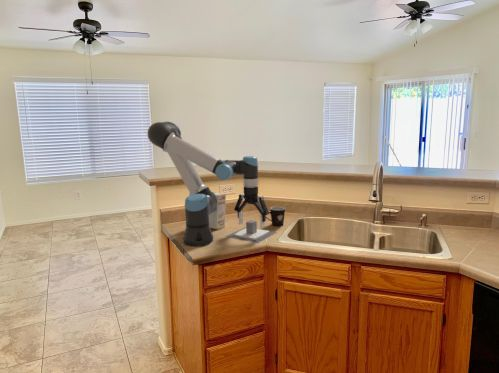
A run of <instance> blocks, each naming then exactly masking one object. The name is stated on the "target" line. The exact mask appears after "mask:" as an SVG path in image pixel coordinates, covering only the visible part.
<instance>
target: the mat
mask: <svg viewBox="0 0 499 373" xmlns="http://www.w3.org/2000/svg"><path fill="white" fill-rule="evenodd" d="M245 228H246V226H245V227H242V228H241V229H239V230H237V231H234V232H232V233H230V234H228V235H225V238H230V239H235V240H241V241H245V242H249V243H256V244H259V243H261V242H262V241H265V240H267V238H270V237H271V236H273V235H275V234H277V233H278V232H277V231H272V230H269V231H270V233H268V234H267V235H265V236H263V237H261V238H259V239H257V240H251V239H246V238H241V237H236V236H233V234H234V233H237V232H239V231H241V230H243V229H245ZM260 229H261V230H263V228H260ZM265 230H266V231H268V230H267V229H265Z"/></svg>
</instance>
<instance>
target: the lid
mask: <svg viewBox="0 0 499 373" xmlns="http://www.w3.org/2000/svg"><path fill="white" fill-rule="evenodd" d="M257 226H258V223H257V221H256V220H252V219H251V220H248V221H246V222H245V227H246V228H245V227H244V228H245V229H243V228H242V229H243V230H241V229H240V230H241V231H239V232H237V233H234V232H233V233H234V234H233V236H236V237H241V238H246V239H251V240H257V239H259V238H261V237H263V236H265V235H267V234H268V233H270V231H271V230H267V229H262V228H258V227H257ZM261 229H262V230H261ZM266 230H267V231H266Z"/></svg>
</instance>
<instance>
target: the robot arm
mask: <svg viewBox="0 0 499 373" xmlns="http://www.w3.org/2000/svg"><path fill="white" fill-rule="evenodd" d="M147 138H148V140H149V142H150V143H151V144H152V145H154V146H156V147H158V148H159V149H162V151H163V152H165V153H167V155H168V156H169V157H170V159H171V162H172V163H173V165H174V166H175V169H176V170H177V172H178V174H179V176H180V178H181V179H182V181H183V183H184V185H185V186H186V188H187V190H188V192H189V193H188V196H186V198H185V199H184V211H185V212H184V213H185V230H184V233H183V234H184V235H183V236H182V237H183V238H182V240H183V241H182V242H183V244H184V245H186V246H190V247H202V246H207V245H210V244H212V243H213V242H214V234H213V233H212V230H211V229H212V228H210V226H209V214H210V213H212V212H213V211H214V210H215V209H216V207H217V205H218V199H217V196H216V195H215V193H216V192H215V193H213V192H214V191H211V189H210V186H208V185H206V184H204V182H203V180H202V179H201V177H200V175H199V172H197V169H196V167H195V166H194V164H195V165H196V166H199V167H201V168H203V170H204V169H205V170H207V172H210V173H212V174H214V175H215V176H216V178H217V179H219V180H221V181H225V180H229V179H230V178H231V177H233V176H237V175H239V176H242V177H243V178H242V181H243V182H242V184H243V193H240V194H239V195H238V199H237V201H236V204H235V207H234V209H233V211H234V212H235V211H236V212H237V218H238V225H242V224H244V222H243V220H244V218H243V212H244V211H243V209H244V208H245V207H246V206H247V204H248V205H253V206H255V207H256V209H257V210H258V212H259V213H260V218H259V223H260V226H259V229H263V228H265V222H266V219H267V218H266V217H267V215H269V214H270V213H269V212H270V211H269V210H268V208H267V205H266V201H265V199H264V198H265V197H264V196H263V195H262V196H259V187H258V185H259V165H258V157H257V156H254V155H249V156H248V155H246V156H245V155H244V156H243V157H242V159H241V160H239V159H238V160H236V159H232V160H231V159H226V160H225V159H224V160H222V159H220V158H218V157H216V156H214V155H212V154H210V153H209V152H206V151H205V150H203V149H201V148H199V147H197V146H195V145H194V144H191V143H189V142H188V141H185V140H184V139H183V138H182V131H181V129H180V127H179V125H177V124H176V123H174V122H171V121H159V122H154V123H152V124H151V125H150V126H149V128H148V130H147ZM243 199H244V200H243Z"/></svg>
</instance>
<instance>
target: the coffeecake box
mask: <svg viewBox="0 0 499 373" xmlns="http://www.w3.org/2000/svg"><path fill="white" fill-rule="evenodd" d="M212 192H213V193H215V195H216V196H217V199H218V205H217V207H216V209H215V210H214V211H213V212H212V213H210V214H209V226H210V229H213V230H217V231H218V230H220V229H221V230H222V229H224V228H225V227H226V223H225V222H226V200H227V199H226V195H227V194H226V193H221V192H220V193H219V192H214V191H212Z"/></svg>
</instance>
